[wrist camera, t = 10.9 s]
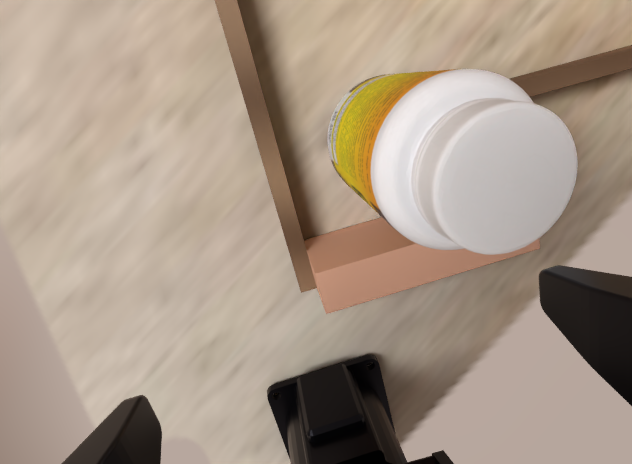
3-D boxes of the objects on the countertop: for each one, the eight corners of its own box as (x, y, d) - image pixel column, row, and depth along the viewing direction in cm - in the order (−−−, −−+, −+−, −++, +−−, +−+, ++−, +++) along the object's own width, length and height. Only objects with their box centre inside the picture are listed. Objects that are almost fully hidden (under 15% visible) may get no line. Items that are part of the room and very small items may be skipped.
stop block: (490, 221, 22) (539, 248, 19) (312, 274, 22) (326, 313, 18) (487, 186, 22) (537, 207, 18) (302, 240, 21) (315, 273, 17)
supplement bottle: (311, 179, 20) (372, 262, 11) (344, 59, 19) (450, 30, 9) (414, 204, 21) (552, 299, 12) (453, 94, 20) (647, 101, 10)
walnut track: (658, 171, 23) (685, 176, 22) (297, 279, 22) (301, 292, 20) (683, -254, 17) (723, -285, 15) (174, -139, 15) (167, -162, 14)
